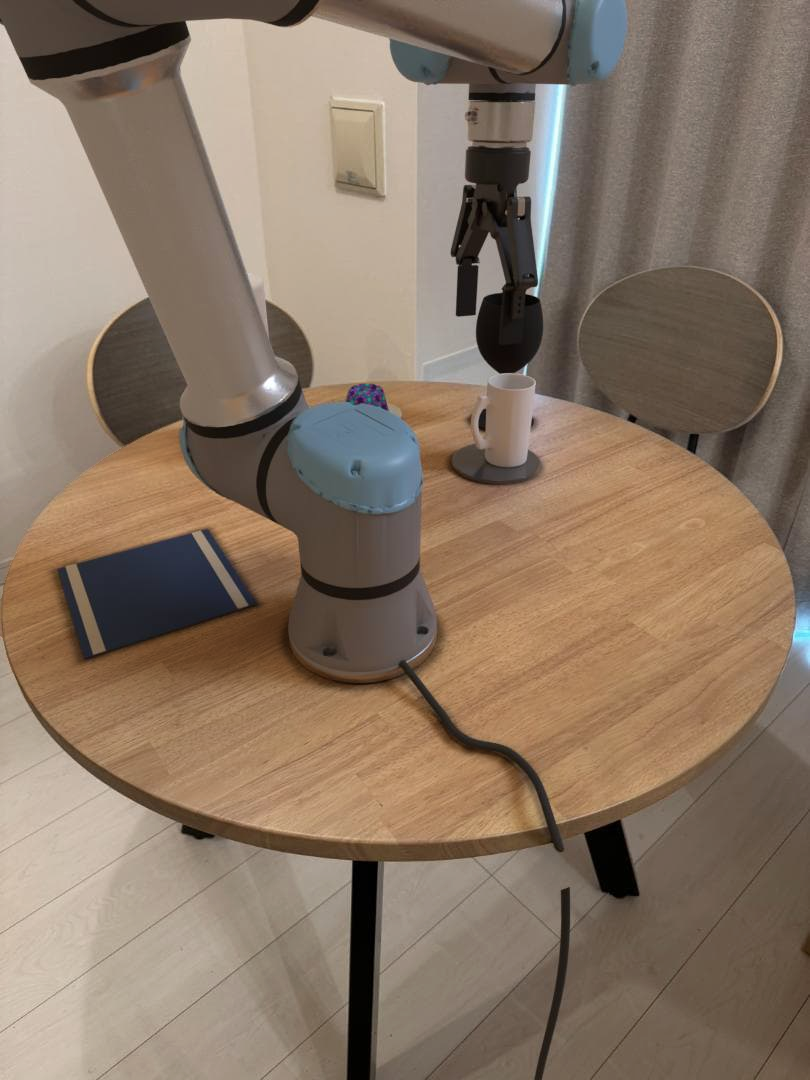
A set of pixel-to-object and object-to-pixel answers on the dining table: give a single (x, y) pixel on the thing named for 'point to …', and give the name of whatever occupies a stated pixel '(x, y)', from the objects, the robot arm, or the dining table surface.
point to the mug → (505, 419)
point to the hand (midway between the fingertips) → (486, 328)
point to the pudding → (371, 397)
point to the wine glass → (511, 354)
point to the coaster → (492, 467)
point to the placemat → (150, 591)
